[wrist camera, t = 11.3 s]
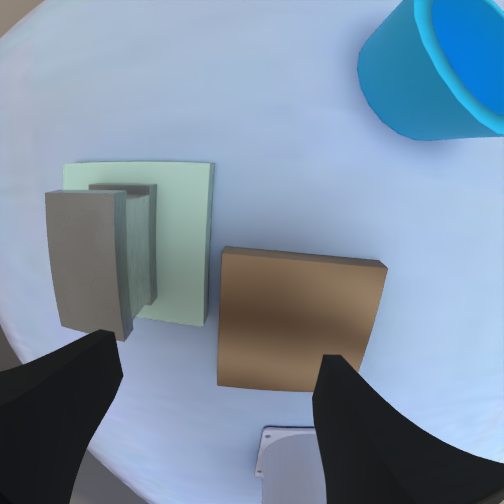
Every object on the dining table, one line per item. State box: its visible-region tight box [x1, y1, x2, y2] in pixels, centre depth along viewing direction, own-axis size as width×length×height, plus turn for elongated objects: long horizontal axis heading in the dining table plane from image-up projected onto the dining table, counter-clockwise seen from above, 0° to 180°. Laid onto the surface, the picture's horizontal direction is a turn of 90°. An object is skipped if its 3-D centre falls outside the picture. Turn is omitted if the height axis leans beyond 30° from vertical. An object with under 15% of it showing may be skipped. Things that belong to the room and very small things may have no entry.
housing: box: [45, 183, 157, 342], centre depth 14 cm, size 7×4×5 cm, turn 175°
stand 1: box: [63, 161, 215, 327], centre depth 18 cm, size 10×10×2 cm
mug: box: [357, 0, 504, 141], centre depth 10 cm, size 12×8×8 cm
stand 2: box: [217, 246, 388, 392], centre depth 19 cm, size 10×10×2 cm
